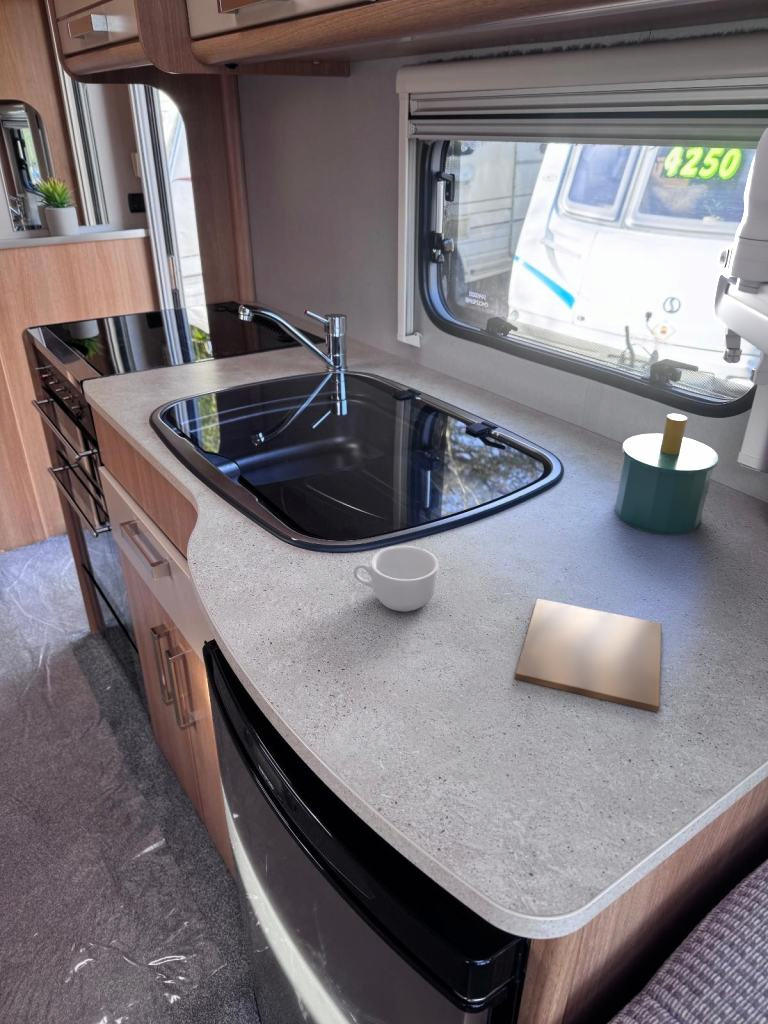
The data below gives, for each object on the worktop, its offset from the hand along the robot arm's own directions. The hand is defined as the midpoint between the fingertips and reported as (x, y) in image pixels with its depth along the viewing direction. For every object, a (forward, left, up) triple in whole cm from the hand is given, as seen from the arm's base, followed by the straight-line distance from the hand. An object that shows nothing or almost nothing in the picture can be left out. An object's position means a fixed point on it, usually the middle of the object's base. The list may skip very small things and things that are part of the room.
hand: (744, 372), depth 95 cm
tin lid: (+7, +3, -12) cm, 14 cm away
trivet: (+13, +38, -21) cm, 45 cm away
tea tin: (+7, +3, -21) cm, 23 cm away
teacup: (+36, +36, -22) cm, 55 cm away
